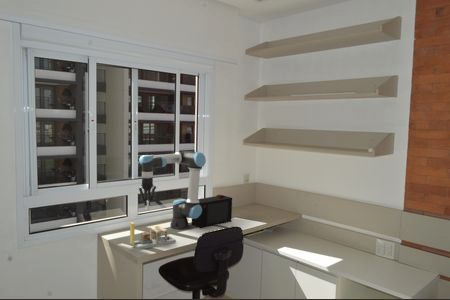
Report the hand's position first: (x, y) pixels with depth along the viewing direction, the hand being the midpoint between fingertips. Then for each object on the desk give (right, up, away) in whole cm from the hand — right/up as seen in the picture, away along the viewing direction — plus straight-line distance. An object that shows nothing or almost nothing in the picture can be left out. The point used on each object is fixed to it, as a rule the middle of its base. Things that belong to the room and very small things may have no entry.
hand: (147, 209), depth 242 cm
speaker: (+43, -22, +60) cm, 77 cm away
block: (-2, -22, +1) cm, 22 cm away
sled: (-4, -23, -1) cm, 23 cm away
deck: (+4, -25, +5) cm, 26 cm away
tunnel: (+7, -23, +7) cm, 25 cm away
